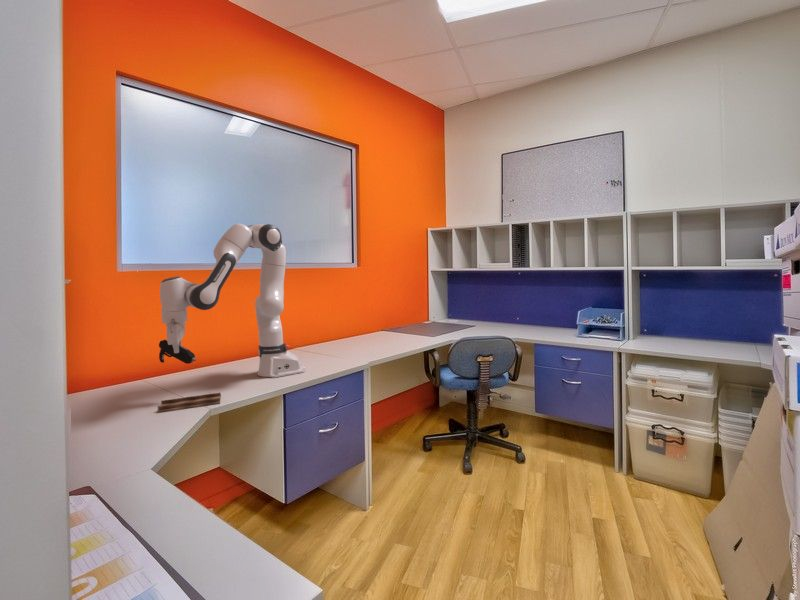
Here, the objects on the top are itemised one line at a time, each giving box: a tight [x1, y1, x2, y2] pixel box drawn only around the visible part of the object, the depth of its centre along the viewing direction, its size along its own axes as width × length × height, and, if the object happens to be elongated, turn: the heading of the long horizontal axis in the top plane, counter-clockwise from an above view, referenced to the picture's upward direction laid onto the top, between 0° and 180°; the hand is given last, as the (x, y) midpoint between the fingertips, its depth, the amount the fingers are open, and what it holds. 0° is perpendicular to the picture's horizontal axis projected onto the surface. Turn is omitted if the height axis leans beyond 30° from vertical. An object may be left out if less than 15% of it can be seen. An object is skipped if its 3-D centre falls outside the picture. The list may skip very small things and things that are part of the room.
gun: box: [158, 339, 197, 365], centre depth 159 cm, size 3×16×10 cm, turn 83°
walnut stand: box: [157, 392, 222, 414], centre depth 152 cm, size 21×10×2 cm, turn 112°
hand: (177, 351), depth 159 cm, fingers closed on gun, 4 cm apart
